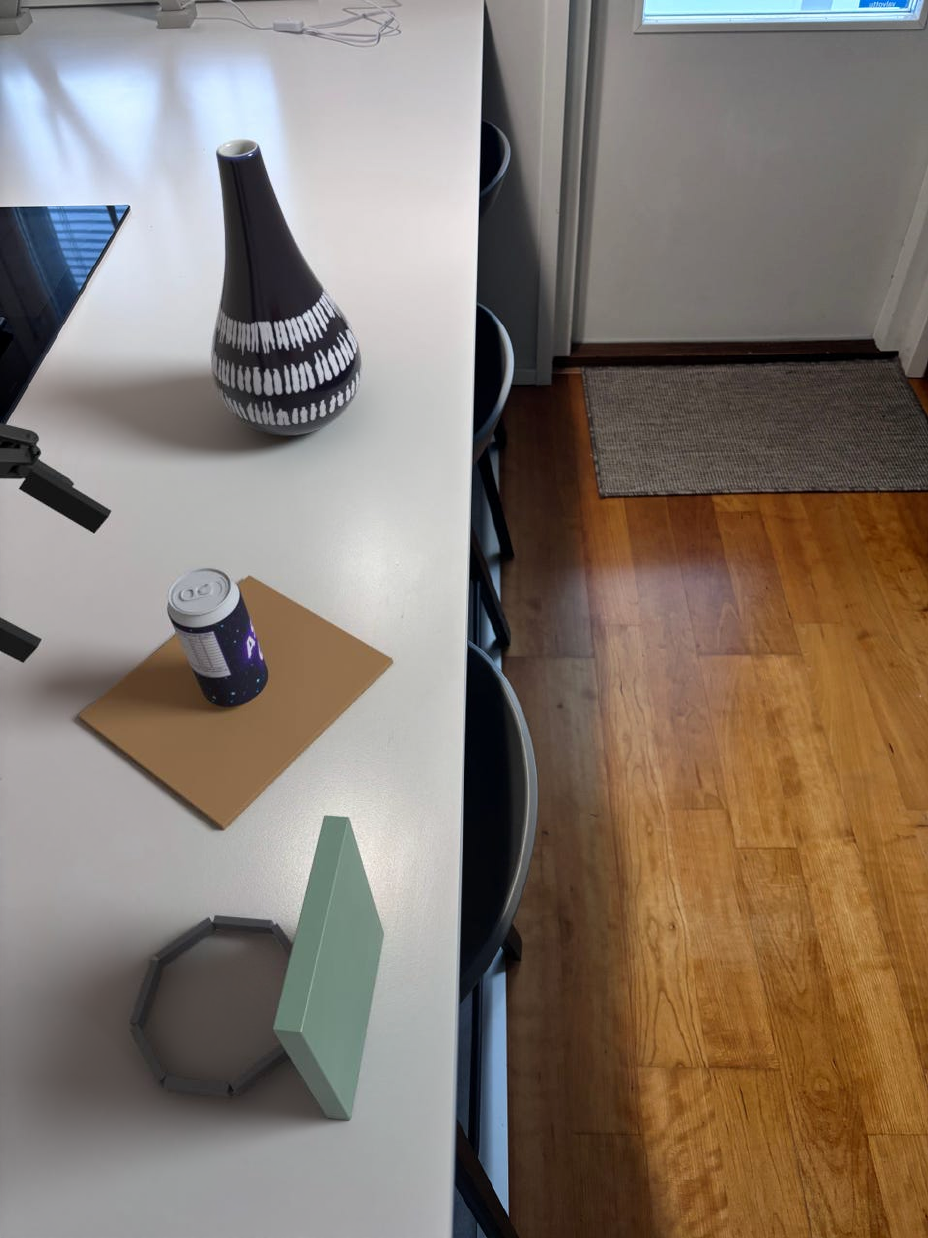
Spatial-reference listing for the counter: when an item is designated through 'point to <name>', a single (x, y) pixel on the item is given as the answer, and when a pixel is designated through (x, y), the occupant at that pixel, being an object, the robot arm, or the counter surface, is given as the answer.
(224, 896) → the counter surface
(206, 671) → the beverage can
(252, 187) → the vase
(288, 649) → the cork mat
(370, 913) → the green panel with ring
